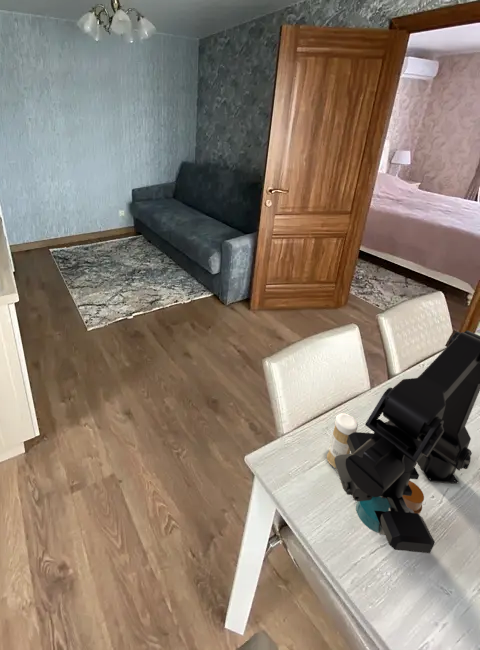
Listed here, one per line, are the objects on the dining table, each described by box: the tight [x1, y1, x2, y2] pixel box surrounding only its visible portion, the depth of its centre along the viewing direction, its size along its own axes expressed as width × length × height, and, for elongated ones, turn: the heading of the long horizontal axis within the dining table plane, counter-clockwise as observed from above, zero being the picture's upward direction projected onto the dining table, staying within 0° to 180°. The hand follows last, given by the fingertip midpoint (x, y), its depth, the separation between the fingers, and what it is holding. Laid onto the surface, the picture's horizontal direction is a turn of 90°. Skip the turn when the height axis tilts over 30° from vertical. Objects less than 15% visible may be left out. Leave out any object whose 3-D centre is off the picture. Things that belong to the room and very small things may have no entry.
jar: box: [402, 480, 425, 516], centre depth 69 cm, size 5×5×11 cm
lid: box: [355, 496, 391, 534], centre depth 63 cm, size 6×6×3 cm
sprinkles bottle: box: [326, 412, 359, 469], centre depth 81 cm, size 5×5×13 cm
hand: (373, 514), depth 63 cm, fingers closed on lid, 6 cm apart
